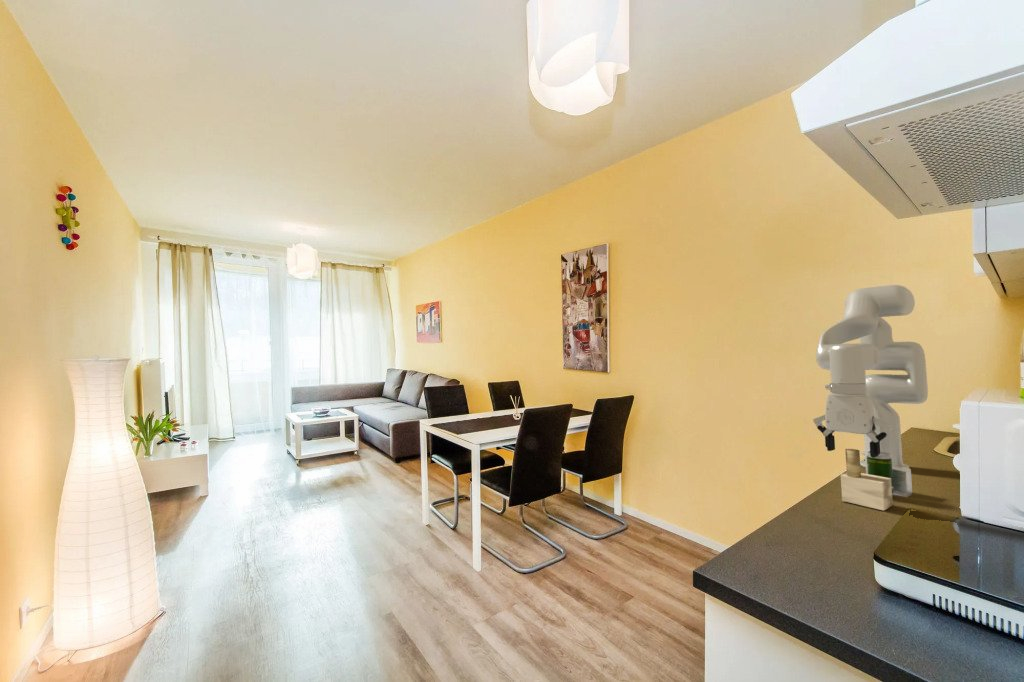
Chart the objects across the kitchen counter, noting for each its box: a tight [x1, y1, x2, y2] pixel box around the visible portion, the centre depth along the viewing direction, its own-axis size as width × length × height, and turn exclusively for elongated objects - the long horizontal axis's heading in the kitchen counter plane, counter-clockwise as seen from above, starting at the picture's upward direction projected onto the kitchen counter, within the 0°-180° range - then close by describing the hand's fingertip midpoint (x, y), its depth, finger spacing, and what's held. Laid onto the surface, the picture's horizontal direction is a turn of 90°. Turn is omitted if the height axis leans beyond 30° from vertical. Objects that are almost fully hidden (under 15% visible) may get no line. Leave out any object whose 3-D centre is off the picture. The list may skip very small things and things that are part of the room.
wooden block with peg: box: [840, 448, 894, 511], centre depth 114 cm, size 6×9×14 cm, turn 32°
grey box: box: [865, 465, 913, 498], centre depth 122 cm, size 4×9×7 cm, turn 32°
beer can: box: [867, 451, 895, 499], centre depth 119 cm, size 5×5×12 cm
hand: (852, 453), depth 115 cm, fingers open, 9 cm apart
